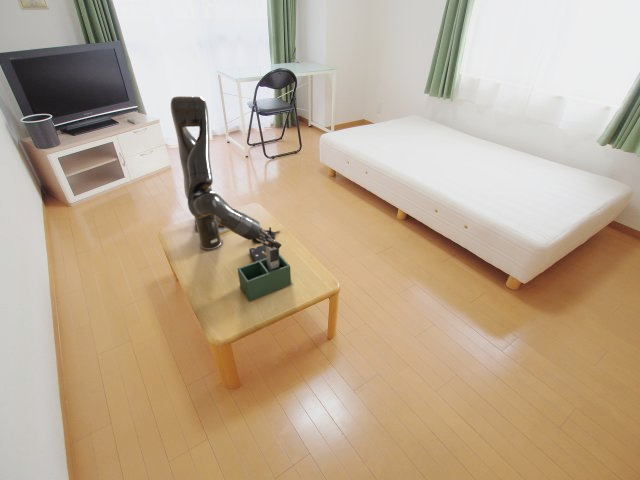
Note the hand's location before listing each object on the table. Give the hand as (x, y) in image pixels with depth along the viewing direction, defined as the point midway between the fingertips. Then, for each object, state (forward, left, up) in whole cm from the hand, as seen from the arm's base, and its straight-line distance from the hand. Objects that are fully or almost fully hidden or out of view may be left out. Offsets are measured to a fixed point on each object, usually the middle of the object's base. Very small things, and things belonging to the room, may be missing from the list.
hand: (276, 243), depth 130 cm
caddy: (0, -6, -19) cm, 20 cm away
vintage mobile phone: (0, -2, -18) cm, 18 cm away
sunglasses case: (-56, -10, -19) cm, 60 cm away
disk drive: (-16, +1, -19) cm, 25 cm away
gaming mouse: (-32, +9, -19) cm, 38 cm away
